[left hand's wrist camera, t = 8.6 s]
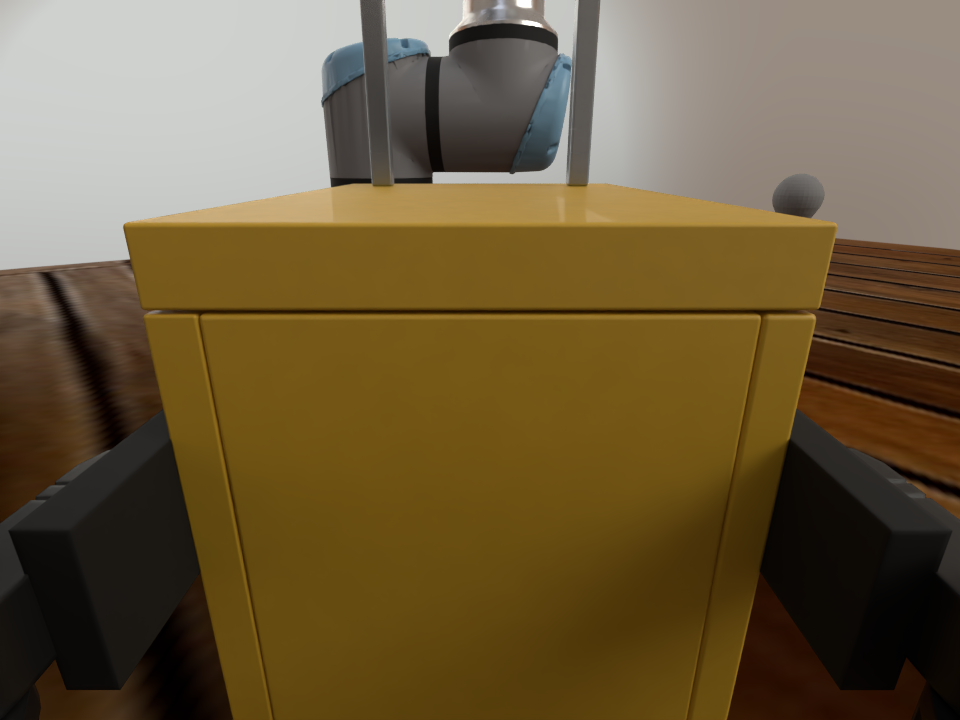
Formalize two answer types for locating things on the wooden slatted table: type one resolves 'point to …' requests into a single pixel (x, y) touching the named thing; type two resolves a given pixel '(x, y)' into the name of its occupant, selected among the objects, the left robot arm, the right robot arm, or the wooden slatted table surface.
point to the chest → (479, 504)
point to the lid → (480, 236)
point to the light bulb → (798, 196)
